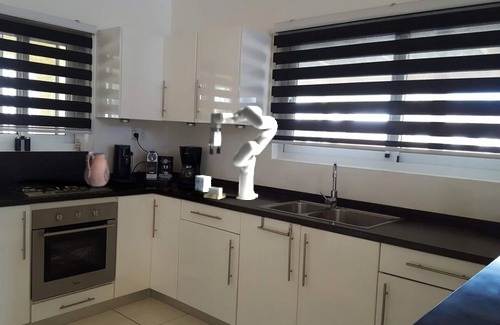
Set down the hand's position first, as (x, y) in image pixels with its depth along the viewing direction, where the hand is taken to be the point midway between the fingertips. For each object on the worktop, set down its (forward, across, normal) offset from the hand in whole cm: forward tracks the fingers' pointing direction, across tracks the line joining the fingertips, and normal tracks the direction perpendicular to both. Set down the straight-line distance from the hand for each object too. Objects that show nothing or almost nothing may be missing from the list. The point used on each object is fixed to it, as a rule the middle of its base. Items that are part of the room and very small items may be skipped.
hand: (215, 154), depth 296 cm
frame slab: (+27, +14, +9) cm, 32 cm away
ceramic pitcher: (+28, +31, -84) cm, 94 cm away
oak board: (+28, +14, +10) cm, 33 cm away
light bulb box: (+29, -4, -12) cm, 31 cm away
